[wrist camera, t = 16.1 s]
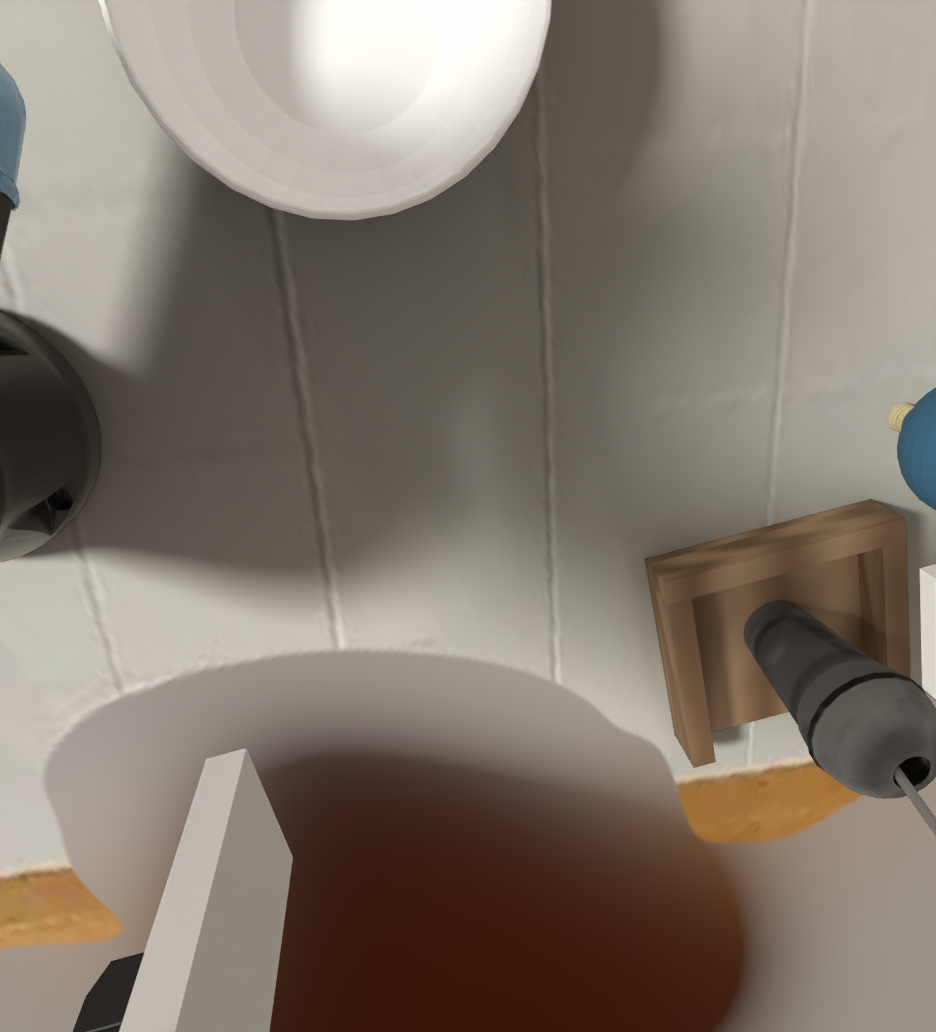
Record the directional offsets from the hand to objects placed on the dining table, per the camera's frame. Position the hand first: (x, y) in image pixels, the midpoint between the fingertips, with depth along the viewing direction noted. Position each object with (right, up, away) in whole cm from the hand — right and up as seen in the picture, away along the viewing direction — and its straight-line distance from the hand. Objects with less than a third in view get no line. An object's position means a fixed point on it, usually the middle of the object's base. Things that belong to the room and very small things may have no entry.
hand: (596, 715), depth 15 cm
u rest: (+19, -4, +41) cm, 45 cm away
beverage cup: (+19, -4, +40) cm, 45 cm away
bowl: (-9, +29, +25) cm, 40 cm away
